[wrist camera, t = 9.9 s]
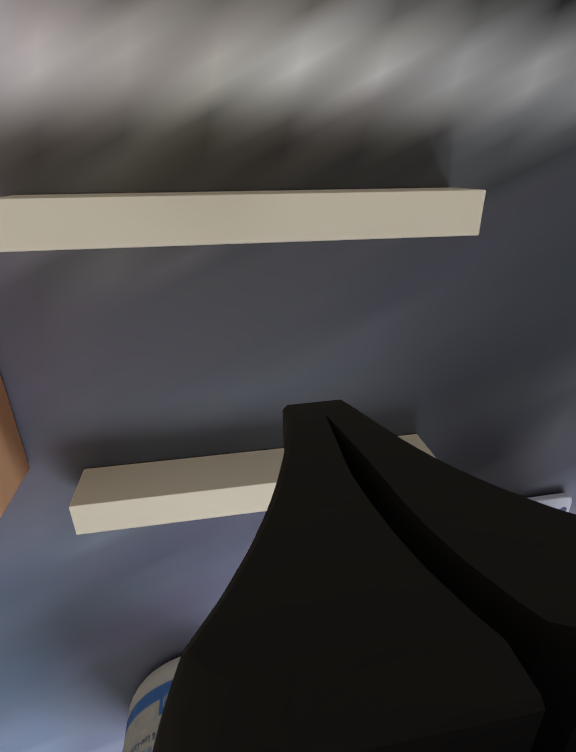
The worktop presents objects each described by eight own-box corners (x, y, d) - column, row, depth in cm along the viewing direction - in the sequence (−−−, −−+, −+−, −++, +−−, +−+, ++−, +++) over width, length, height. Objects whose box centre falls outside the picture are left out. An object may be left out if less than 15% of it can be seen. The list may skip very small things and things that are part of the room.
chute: (450, 187, 17) (486, 190, 15) (413, 458, 23) (435, 489, 21) (15, 194, 15) (-18, 199, 13) (90, 495, 21) (76, 534, 18)
